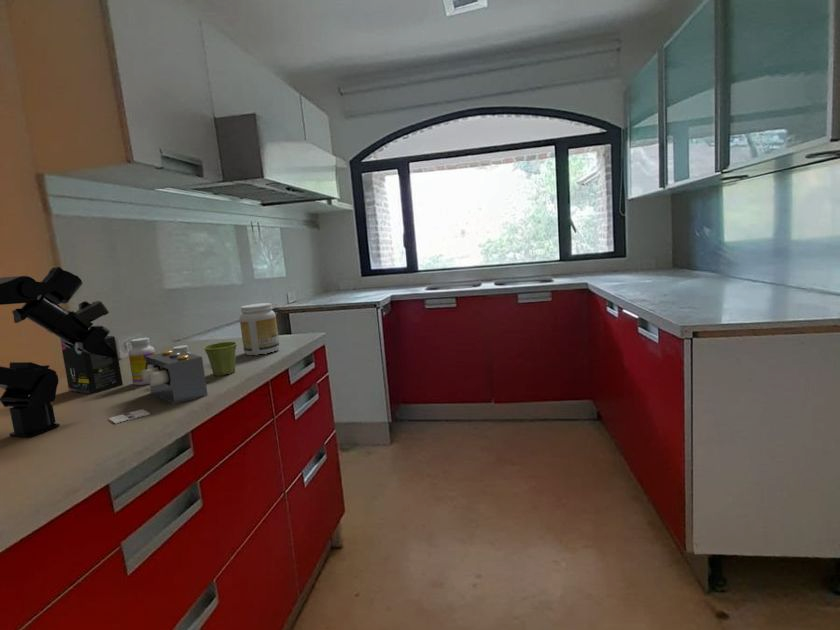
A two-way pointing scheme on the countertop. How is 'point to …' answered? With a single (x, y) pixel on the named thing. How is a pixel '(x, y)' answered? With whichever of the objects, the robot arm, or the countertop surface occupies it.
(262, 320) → the supplement tub
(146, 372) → the button
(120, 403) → the countertop surface
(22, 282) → the robot arm
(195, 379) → the console
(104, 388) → the tampon box
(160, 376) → the button
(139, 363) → the supplement bottle
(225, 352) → the plant pot
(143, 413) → the card
